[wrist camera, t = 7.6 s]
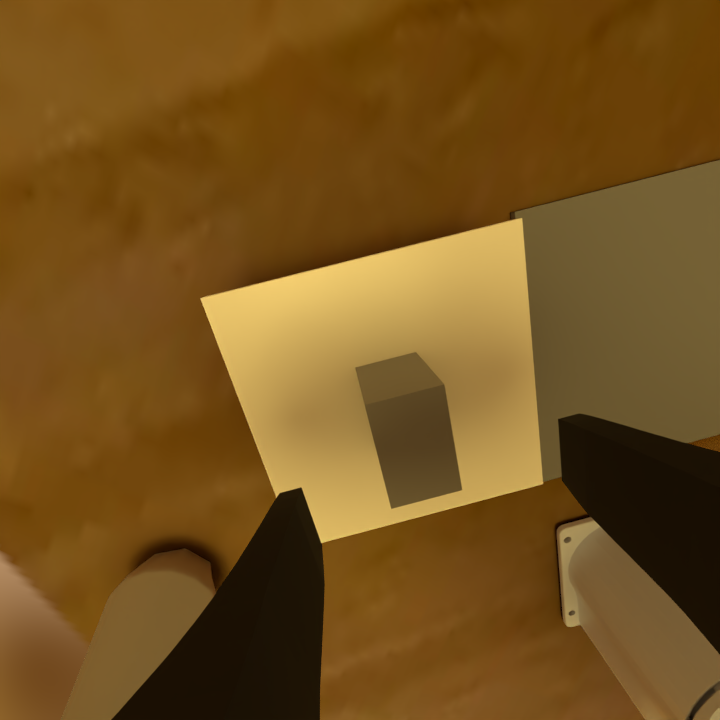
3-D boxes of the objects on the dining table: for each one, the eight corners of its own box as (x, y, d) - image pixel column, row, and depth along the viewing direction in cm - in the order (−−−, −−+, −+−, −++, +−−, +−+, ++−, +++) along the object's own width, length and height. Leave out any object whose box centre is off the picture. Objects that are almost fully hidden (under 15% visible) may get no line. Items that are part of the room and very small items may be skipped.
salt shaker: (167, 520, 21) (-67, 927, 8) (247, 566, 22) (150, 965, 10) (110, 582, 22) (-176, 1029, 9) (191, 621, 23) (38, 1049, 11)
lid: (535, 476, 17) (597, 543, 13) (297, 539, 17) (289, 626, 13) (513, 219, 13) (591, 207, 10) (205, 296, 13) (156, 316, 9)
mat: (774, 414, 23) (782, 417, 22) (534, 478, 22) (538, 482, 22) (819, 134, 17) (831, 131, 17) (510, 212, 17) (514, 212, 17)
